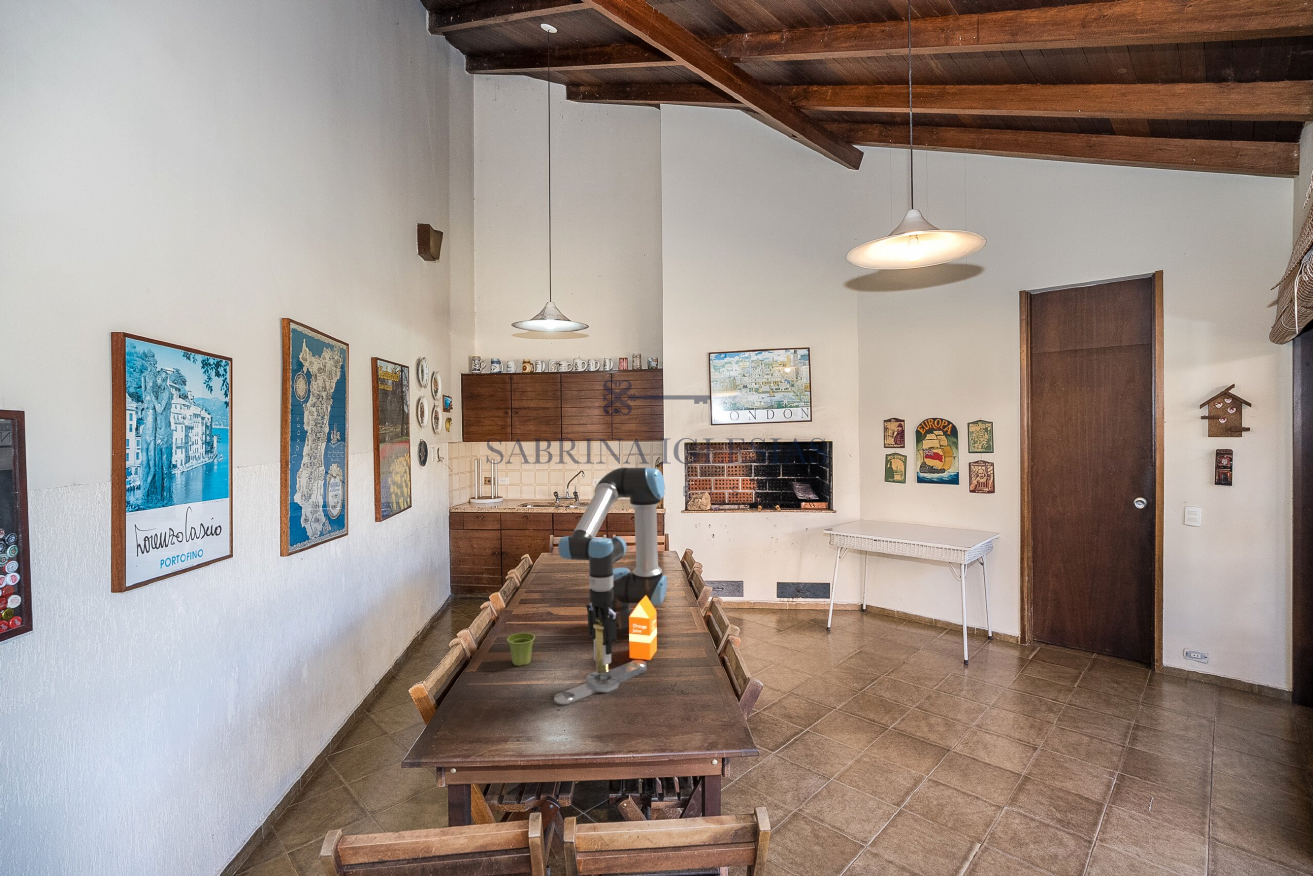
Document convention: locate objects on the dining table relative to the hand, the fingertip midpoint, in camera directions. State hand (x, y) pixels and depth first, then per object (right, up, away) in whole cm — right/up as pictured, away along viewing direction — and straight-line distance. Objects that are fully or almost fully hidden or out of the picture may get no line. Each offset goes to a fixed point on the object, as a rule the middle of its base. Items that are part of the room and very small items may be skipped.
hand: (602, 661), depth 186 cm
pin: (0, -3, 0) cm, 3 cm away
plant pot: (-30, -7, +18) cm, 35 cm away
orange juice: (+12, -7, +24) cm, 28 cm away
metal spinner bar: (0, -8, 0) cm, 8 cm away
